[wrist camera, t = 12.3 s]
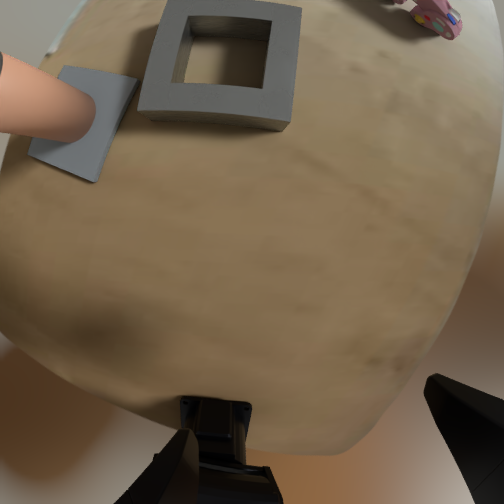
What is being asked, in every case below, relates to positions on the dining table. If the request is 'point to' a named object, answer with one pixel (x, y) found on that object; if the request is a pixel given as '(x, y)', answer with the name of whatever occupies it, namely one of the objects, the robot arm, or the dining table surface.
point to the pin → (41, 104)
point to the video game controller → (437, 17)
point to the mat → (102, 130)
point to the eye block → (213, 95)
